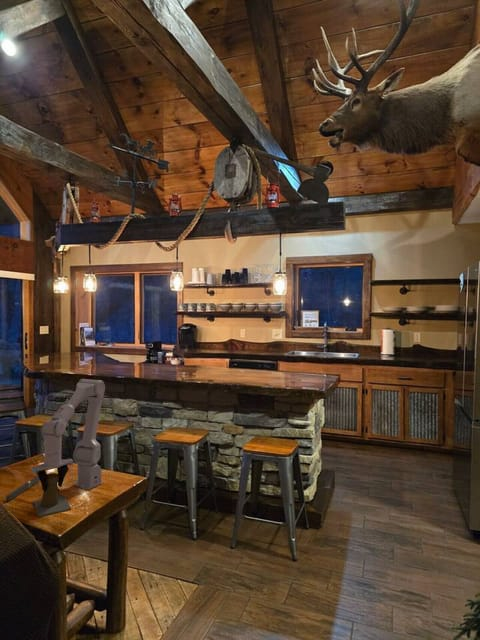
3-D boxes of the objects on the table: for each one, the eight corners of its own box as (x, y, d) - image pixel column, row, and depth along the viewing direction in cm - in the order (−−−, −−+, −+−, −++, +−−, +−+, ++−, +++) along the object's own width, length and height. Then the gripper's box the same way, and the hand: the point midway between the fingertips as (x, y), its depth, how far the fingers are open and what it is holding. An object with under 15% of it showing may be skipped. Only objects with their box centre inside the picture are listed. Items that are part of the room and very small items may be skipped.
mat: (71, 509, 150) (71, 508, 150) (37, 517, 144) (37, 515, 144) (64, 495, 161) (64, 494, 161) (33, 502, 155) (33, 501, 155)
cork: (42, 499, 155) (44, 471, 154) (59, 498, 157) (62, 470, 156) (39, 507, 149) (41, 478, 149) (57, 506, 151) (59, 477, 150)
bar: (10, 501, 154) (10, 494, 154) (5, 500, 155) (5, 494, 155) (40, 480, 173) (40, 475, 173) (35, 480, 174) (36, 474, 173)
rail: (59, 495, 161) (59, 489, 161) (55, 496, 160) (55, 490, 160) (54, 484, 171) (54, 478, 171) (51, 484, 170) (51, 479, 170)
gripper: (68, 445, 160) (67, 479, 160) (28, 453, 150) (27, 490, 150) (75, 449, 155) (74, 485, 155) (35, 458, 145) (34, 496, 145)
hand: (52, 488), depth 152 cm, fingers closed on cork, 5 cm apart
